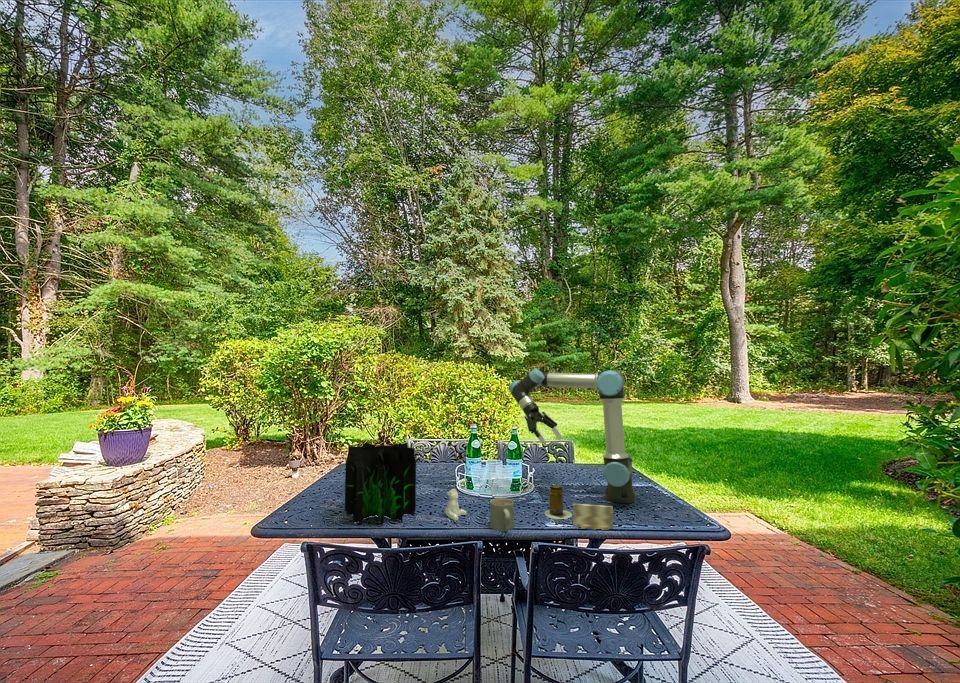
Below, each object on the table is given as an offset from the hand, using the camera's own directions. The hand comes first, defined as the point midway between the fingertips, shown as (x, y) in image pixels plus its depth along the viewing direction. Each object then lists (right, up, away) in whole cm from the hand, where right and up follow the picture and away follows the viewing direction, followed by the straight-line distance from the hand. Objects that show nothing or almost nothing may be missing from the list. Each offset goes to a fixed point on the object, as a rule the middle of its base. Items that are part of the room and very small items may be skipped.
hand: (552, 440), depth 211 cm
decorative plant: (-80, -30, -16) cm, 87 cm away
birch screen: (+12, -29, -31) cm, 44 cm away
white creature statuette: (-47, -30, -19) cm, 59 cm away
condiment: (0, -30, -16) cm, 34 cm away
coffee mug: (-26, -29, -31) cm, 50 cm away
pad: (0, -30, -16) cm, 34 cm away
